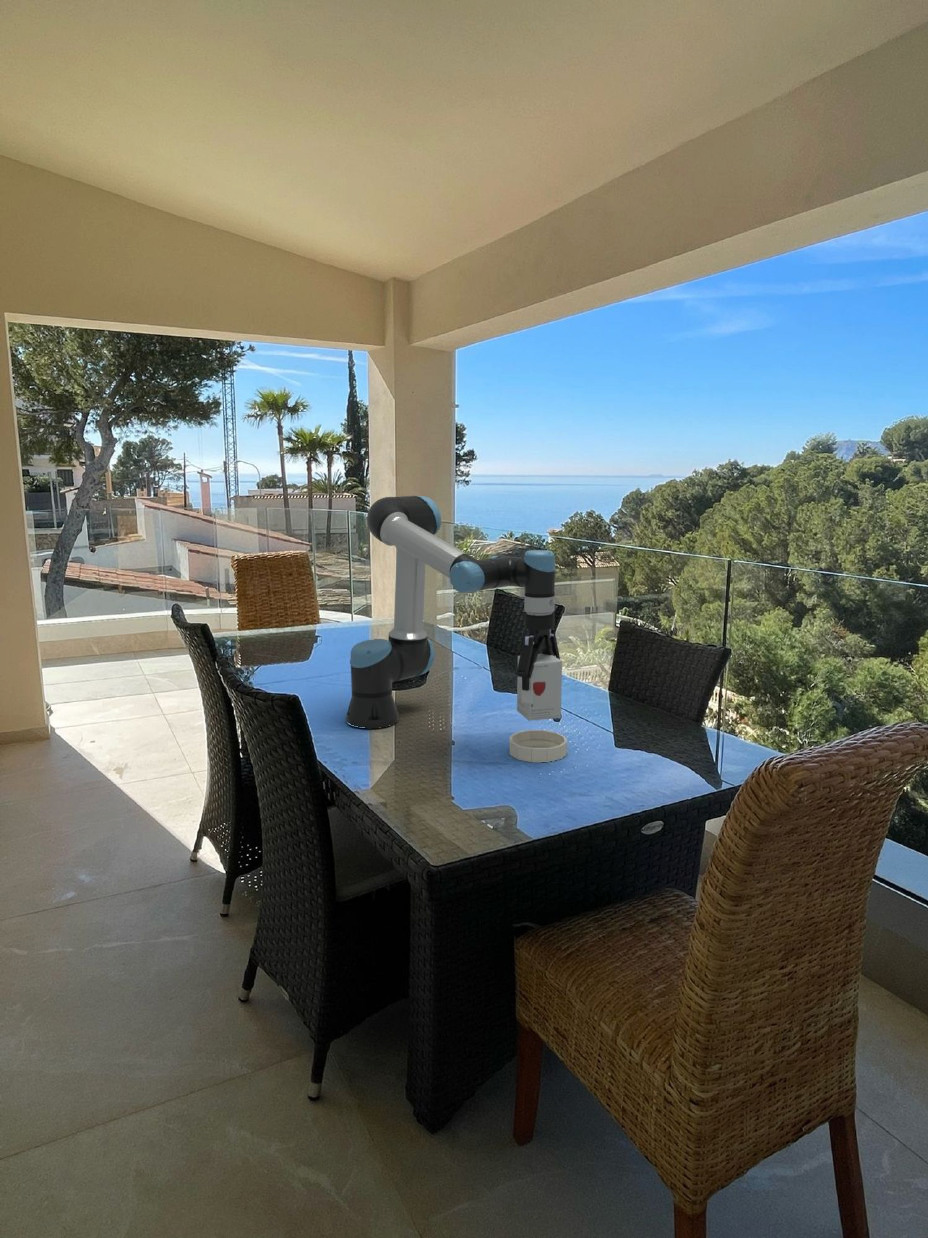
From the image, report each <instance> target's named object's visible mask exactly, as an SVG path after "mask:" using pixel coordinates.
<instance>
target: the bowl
mask: <svg viewBox="0 0 928 1238" xmlns="http://www.w3.org/2000/svg"><path fill="white" fill-rule="evenodd" d="M508 739H509V740H508V741H509V743H508V744H509V750H508V751H509V755H510V756H511V757H513V758H514V759H516V760H519V761H524V762H526V763H528V762H529V763H541V762H548V763H551V762H550V761H552V762H556V761H555V760H557V761H559V760H558V759H561V760H562V759H564V758H565V757H567V755H568V739H567V737H566V736H565V735H562V734H561V733H559V732H557V731H553V730H552V731H551V730H545V729H527V730H526V729H525V730H522V731H516V732H514V733H512V734H511V735H509V738H508ZM564 756H565V757H564ZM563 757H564V758H563Z"/></svg>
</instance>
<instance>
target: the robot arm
mask: <svg viewBox="0 0 928 1238" xmlns="http://www.w3.org/2000/svg"><path fill="white" fill-rule="evenodd" d="M366 524H367V527H368V531H369V532H370V533H371V534H372V536H373V537H374V538H375V539H377V540H378V541H380V542H382V544H384V545H386V546H388V547H389V546H390V547H391V546H394V547H395V549H396V557H395V558H396V559H395V561H396V562H395V586H394V587H395V588H394V615H393V616H394V617H393V618H394V619H393V621H394V622H393V628H392V629H391V630H390V631H389V632H388V639H386V638H385V639H383V638H374V639H367V640H364V641H360V642H358V643H356V644H355V645H353V646H352V648H351V650H350V659H349V664H350V680H351V681H350V682H351V684H350V685H351V699H350V701H349V705H348V707H347V708H348V709H347V712H346V715H345V716H346V723H347V722H348V723H350V724H351V725H354V726H358V727H365V728H379V727H386V728H388V727H387V726H389V725H392V726H394V725H393V724H395V723H396V722H397V723H399V721H398V720H399V718H400V715H399V711H398V709H397V706H396V702H395V700H394V696H393V683H394V682H399V681H402V680H407V679H411V678H417V677H420V676H421V675H424V674H426V673H427V672H429V671H430V669H431V668H432V666H433V665H434V662H435V658H436V657H435V656H436V652H435V647H434V646H433V643H432V641H431V640H430V638H428V633H427V632H426V631H425V630H424V609H425V608H424V605H425V588H426V587H425V585H426V584H425V583H426V565H427V566H428V567H430V568H432V569H433V570H435V571H437V572H439V573H440V574H442V575H443V576H445V577H447V578H449V582H450V585H452V587H453V589H454V590H455V591H457V592H459V593H462V594H464V593H468V594H469V593H475V592H481V591H486V590H487V591H488V590H491V589H493V590H494V589H497V588H504V587H505V588H506V587H515V588H516V587H518V588H523V589H524V602H523V603H524V609H523V610H524V612H525V614H524V623H523V624H524V628H525V629H527V630H529V633H528V636H527V635H526V636H525V635H523V636H522V637H521V638H522V641H521V642H522V644H521V649H520V655H519V656H520V659H519V664H518V663H517V671H516V676H517V677H522V702H525V703H531V704H532V703H533V677H531V675H532V672H533V668H534V663H535V662H536V659H537V656H538V654H546V655H553V656H554V657H556V658H558V659H560V660H561V657H560V651H559V647H558V645H559V644H558V641H557V635H556V628H555V625H556V622H555V620H556V617H555V615H556V614H554V612H555V605H556V603H557V601H556V600H555V599H556V598H555V597H556V594H555V583H556V569H557V568H556V559H555V558H556V557H555V554H554V552H553V551H552V550H544V549H543V550H540V549H535V550H534V549H533V550H527V551H526V552H525V553H524V557H518V556H510V555H509V556H508V555H493V556H491V557H489V558H486V559H485V558H484V559H477V558H475V557H474V556H471V555H470V554H468V553H466V552H464V551H463V550H461V549H459V548H458V547H456V546H454V545H452V544H451V543H449V542H447V541H445V540H444V539H441V538H440V537H439V536H436V534H438V532H439V531H440V529H441V526H442V516H441V512H440V509H439V507H438V506H437V504H436V502H435V501H434V500H432V498H430V497H428V496H423V495H403V496H385V497H381V498H380V499H378V500H376V501H374V502H373V504H372V505H371V506H370V507H369V509H368V512H367V514H366ZM541 652H542V653H541ZM397 723H396V724H397ZM396 724H395V725H396ZM389 727H390V726H389Z"/></svg>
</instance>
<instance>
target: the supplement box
mask: <svg viewBox="0 0 928 1238" xmlns="http://www.w3.org/2000/svg"><path fill="white" fill-rule="evenodd" d="M519 659H520V655H517V665H518V664H519ZM531 677H533V703H532V704H531V703H525V702H522V677H518V676H517V681H516V682H517V683H516V684H517V689H516V690H517V691H516V693H517V694H516V696H517V697H516V711H517V712H518V714H520V715H521V716H522V717H524V718H525V719H526V720H527V721H528V722H530V721H532V722H533V721H541V720H543V721H544V720H552V719H561V718H562V689H563V688H562V686H563V685H562V683H563V681H562V679H563V661H562V659H561V658H560V659H558V658H556V656H555V657H554V656H553V655H546V654H543V653H540V654H538V656H537V659H536V662H535V663H534V668H533V672H532V675H531Z"/></svg>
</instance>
